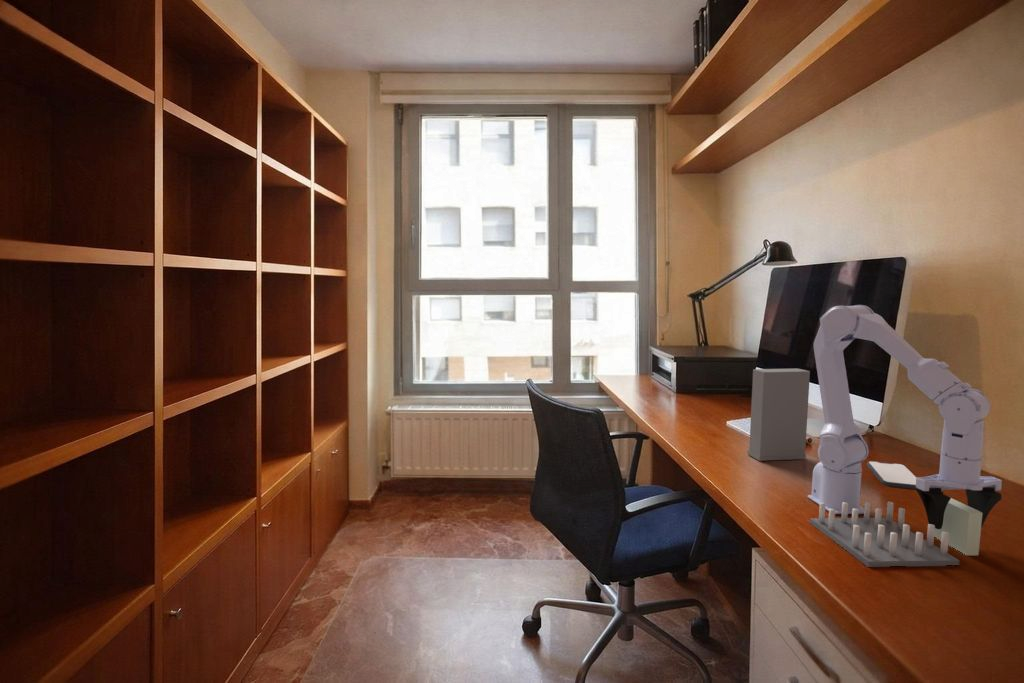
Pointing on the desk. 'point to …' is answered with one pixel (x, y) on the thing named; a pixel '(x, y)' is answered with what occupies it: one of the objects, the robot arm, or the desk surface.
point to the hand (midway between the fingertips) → (954, 526)
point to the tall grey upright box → (779, 414)
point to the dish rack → (883, 538)
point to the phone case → (893, 474)
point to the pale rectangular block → (961, 527)
